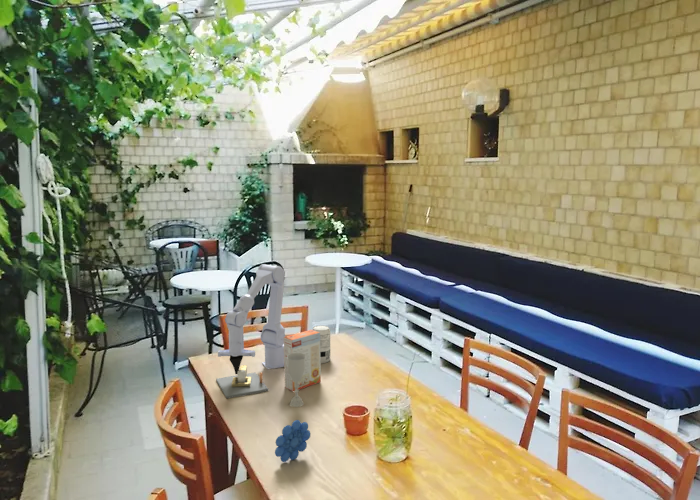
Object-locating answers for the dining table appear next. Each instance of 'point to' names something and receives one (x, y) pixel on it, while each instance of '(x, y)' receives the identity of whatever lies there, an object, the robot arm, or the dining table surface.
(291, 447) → the grapes
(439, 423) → the dining table surface
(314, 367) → the cracker box
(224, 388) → the post board
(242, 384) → the yellow frame with handle
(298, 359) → the chalice
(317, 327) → the supplement can
